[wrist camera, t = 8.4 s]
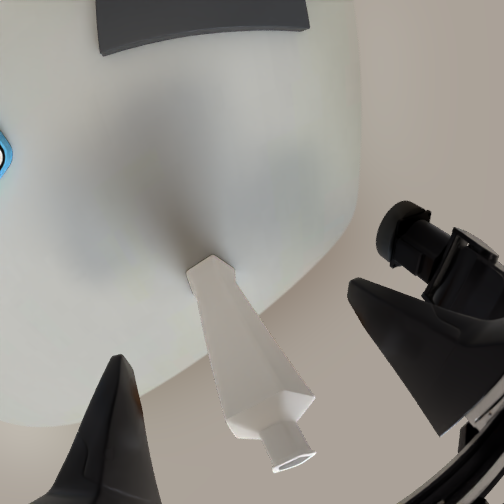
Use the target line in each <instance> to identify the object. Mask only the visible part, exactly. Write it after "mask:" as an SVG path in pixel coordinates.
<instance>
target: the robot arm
mask: <svg viewBox="0 0 504 504" xmlns="http://www.w3.org/2000/svg"><path fill="white" fill-rule="evenodd" d="M430 219H431V211H430V210H425V211H423V212H420V213H417V214H414V215H411V216H408V217H405V218H402V219H399V220H398V221H397V223H396V230H395V236H394V243H393V249H392V254H391V260H390V267H391V268H392V269H393V268H395V267H398V266H400V265H402V266H403V267H405V268H406V269H407V270H409V271H410V272H411V273H412V274H414V275H415V276H418V277H419V278H421V279H422V280H423V281H424V282H426V283H427V284H428V286H427V288H426V289H425V291H424V292H423V294H422V295H421V296H422V298H423V299H424V300H425V301H422V300H419V299H417V298H414V297H411V296H409V295H406V294H403V293H401V292H398V291H395V290H392V289H390V288H387V287H384V286H381V285H379V284H375V283H373V282H370V281H368V280H365V279H362V278H355V279H353V280H351V281H350V282H349V287H348V294H347V298H348V301H349V303H350V304H351V306H352V308H353V309H354V311H355V313H356V315H357V316H358V318H359V320H360V321H361V323H362V325H363V326H364V328H365V329H366V331H367V332H368V334H369V335H370V337H371V338H372V339H373V341H374V342H375V343H376V345H377V346H378V347H379V349H380V350H381V352H382V353H383V354H384V356H385V357H386V359H387V360H388V362H389V363H390V364H391V366H392V367H393V368H394V370H395V371H396V373H397V374H398V376H399V377H400V379H401V380H402V381H403V383H404V384H405V386H406V387H407V388H408V390H409V392H410V393H411V394H412V396H413V398H414V399H415V400H416V402H417V404H418V405H419V407H420V408H421V410H422V411H423V413H424V414H425V416H426V417H427V419H428V420H429V422H430V423H431V425H432V426H433V428H434V430H435V431H436V432H437V434H438V435H439V437H441V436H442V435H443V434H445V433H446V432H447V431H448V430H449V429H451V428H452V427H453V426H454V425H455V424H456V423H457V422H459V421H460V420H461V419H462V418H463V417H464V416H465V417H466V418H467V420H468V422H467V423H466V424H465V425H464V426H463V427H462V428H461V429H460V438H459V447H458V454H457V455H456V456H455V457H454V458H453V459H452V460H451V461H450V462H449V463H448V464H447V465H446V466H445V467H443V468H442V469H441V470H440V471H439V472H438V473H437V474H435V475H434V476H433V477H432V478H431V479H429V480H428V481H427V482H426V483H424V484H423V485H422V486H421V487H419V488H418V489H417V490H416V491H414V492H413V493H412V494H410V495H409V496H407V497H406V498H404V499H403V500H402V501H400V502H399V503H397V504H489V503H488V502H487V501H486V499H484V497H485V496H486V495H487V494H488V493H489V492H490V491H491V490H492V488H493V487H494V486H495V485H496V484H497V482H498V481H499V480H500V479H501V478H502V476H503V475H504V266H503V265H502V264H501V263H500V262H498V261H497V260H498V258H499V255H498V254H497V253H496V252H495V251H494V250H492V249H491V248H490V247H489V246H488V245H487V244H485V243H484V242H483V241H482V240H481V239H479V238H477V237H475V236H474V235H472V234H471V233H469V232H467V231H464V230H461V229H459V228H456V227H454V228H453V230H452V235H451V236H450V235H449V234H447V233H446V232H444V231H442V230H441V229H439V228H438V227H436V226H434V225H432V224H431V223H430ZM468 243H469V245H468V246H467V244H468ZM30 504H162V503H161V499H160V496H159V492H158V488H157V484H156V480H155V476H154V472H153V467H152V462H151V458H150V453H149V447H148V442H147V436H146V431H145V425H144V418H143V411H142V406H141V402H140V398H139V394H138V389H137V385H136V381H135V376H134V372H133V369H132V367H131V365H130V364H129V363H128V361H127V360H126V358H125V357H124V356H123V355H122V354H119V355H115V356H112V357H111V359H110V361H109V363H108V365H107V367H106V369H105V371H104V373H103V375H102V377H101V380H100V382H99V384H98V386H97V388H96V390H95V393H94V395H93V397H92V399H91V401H90V404H89V406H88V408H87V411H86V413H85V415H84V418H83V420H82V422H81V425H80V427H79V430H78V432H77V434H76V437H75V439H74V442H73V444H72V447H71V449H70V451H69V453H68V455H67V458H66V460H65V462H64V464H63V466H62V468H61V470H60V472H59V474H58V476H57V478H56V480H55V483H54V484H53V486H52V488H51V489H50V490H49V492H47V493H46V494H45V495H43V496H42V497H40V498H38V499H37V500H35V501H33V502H31V503H30ZM503 504H504V503H503Z"/></svg>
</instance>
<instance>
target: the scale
mask: <svg viewBox="0 0 504 504" xmlns="http://www.w3.org/2000/svg"><path fill="white" fill-rule="evenodd" d="M96 18H97V30H98V41H99V50H100V53H101V54H102V55H103V56H106V55H109V54H112V53H116V52H119V51H122V50H126V49H130V48H133V47H137V46H141V45H145V44H149V43H154V42H159V41H163V40H168V39H174V38H180V37H186V36H193V35H200V34H208V33H218V32H231V31H252V30H280V31H304V30H307V29H309V28H310V25H309V19H308V13H307V7H306V1H305V0H96Z"/></svg>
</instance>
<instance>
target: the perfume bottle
mask: <svg viewBox="0 0 504 504" xmlns="http://www.w3.org/2000/svg"><path fill="white" fill-rule="evenodd" d="M186 275H187V278H188V281H189V284H190V287H191V290H192V293H193V295H194V296H195V297H196V299H197V303H198V308H199V313H200V318H201V323H202V328H203V332H204V337H205V341H206V346H207V350H208V355H209V359H210V363H211V367H212V371H213V376H214V380H215V384H216V387H217V391H218V395H219V399H220V403H221V407H222V410H223V414H224V418H225V421H226V423H227V425H228V426H229V428H230V430H231V431H232V433H233V434H234V436H235V437H236V438H240V439H261V440H262V442H263V445H264V447H265V449H266V451H267V453H268V456H269V458H270V460H271V462H272V464H273V466H272V470H273V472H274V473H277V472H279V471H283V470H286V469H289V468H292V467H295V466H297V465H300V464H302V463H304V462H305V461H306V460H308V459H309V458H311V457H312V456H314V455H315V454H316V453H317V452H315V451H313V450H311V448H310V446H309V445H308V443H307V441H306V439H305V438H304V436H303V434H302V432H301V430H300V428H299V426H298V425H297V423H296V422H297V421H298V420H299V418H300V417H301V416H302V415H303V413H304V412H305V411H306V410H307V409H308V407H309V406H310V405H311V403H312V402H313V401H314V399H315V396H314V394H313V393H312V392H311V390H310V389H309V387H308V386H307V385H306V383H305V382H304V380H303V379H302V378H301V376H300V375H299V374H298V372H297V371H296V369H295V368H294V366H293V365H292V364H291V362H290V361H289V359H288V358H287V357H286V355H285V354H284V352H283V351H282V349H281V348H280V347H279V345H278V344H277V342H276V341H275V339H274V338H273V336H272V335H271V334H270V332H269V331H268V329H267V328H266V327H265V325H264V323H263V322H262V320H261V319H260V317H259V316H258V315H257V313H256V312H255V310H254V309H253V307H252V306H251V304H250V303H249V301H248V300H247V298H246V297H245V295H244V294H243V292H242V291H241V289H240V288H239V286H238V285H237V283H236V276H235V269H234V268H233V267H231V266H230V265H228V264H227V263H225V262H224V261H222V260H221V259H219V258H218V257H216V256H215V255H211V256H209V257H208V258H206V259H204V260H203V261H201V262H200V263H198V264H197V265H195V266H194V267H192V268H190V269H189V270H188V271H187V272H186Z"/></svg>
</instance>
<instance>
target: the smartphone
mask: <svg viewBox="0 0 504 504" xmlns="http://www.w3.org/2000/svg"><path fill="white" fill-rule="evenodd" d="M11 161H12V149H11V146H10V144H9V143H8V141H7V140H6V139H5V137H4V136H3V134H2V133H1V131H0V178H1V177H2V175H3V174H4V173H5V171H6V170H7V168H8V167H9V166H10V164H11Z"/></svg>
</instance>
